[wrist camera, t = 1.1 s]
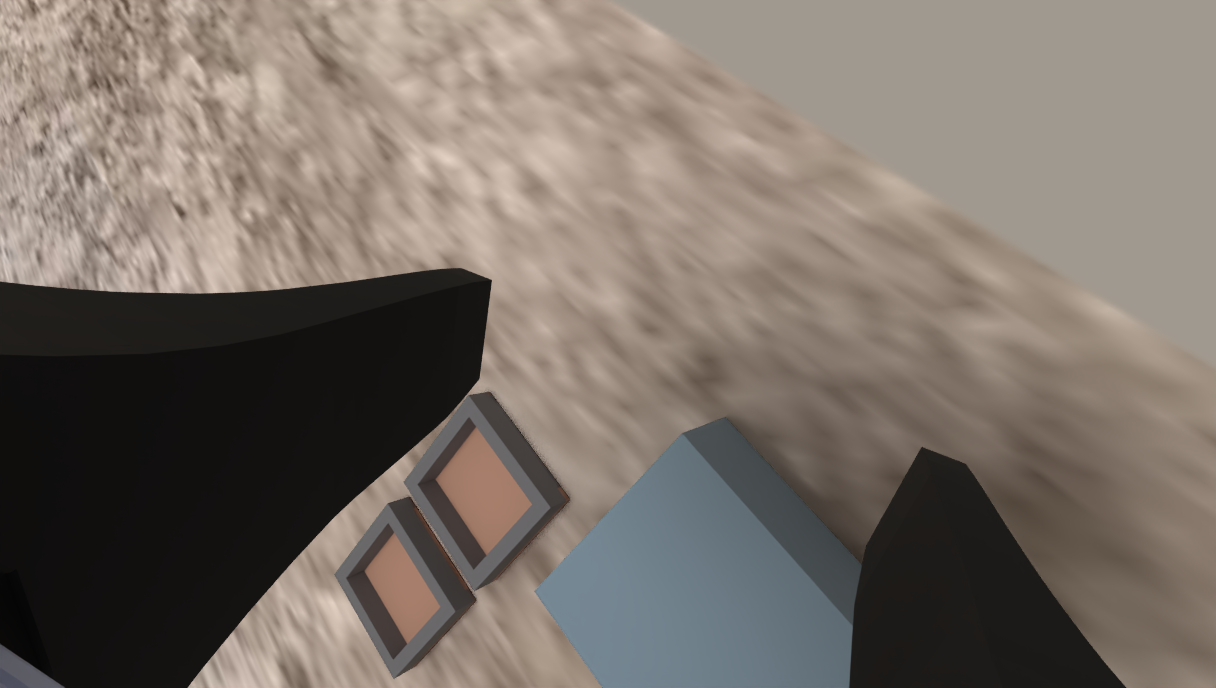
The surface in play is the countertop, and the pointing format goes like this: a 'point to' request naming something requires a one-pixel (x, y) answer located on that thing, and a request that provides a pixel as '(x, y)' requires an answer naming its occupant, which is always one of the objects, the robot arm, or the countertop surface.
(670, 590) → the slate block
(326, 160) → the countertop surface
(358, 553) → the grey double frame
